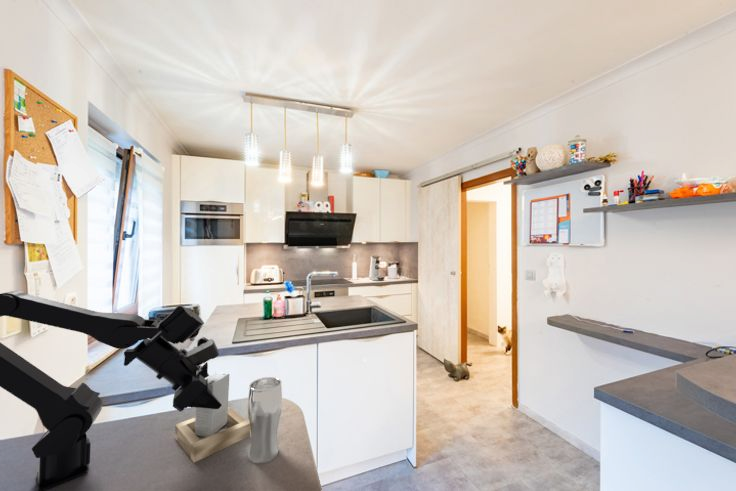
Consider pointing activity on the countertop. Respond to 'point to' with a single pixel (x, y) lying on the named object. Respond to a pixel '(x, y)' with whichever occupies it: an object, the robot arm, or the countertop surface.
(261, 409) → the beer glass
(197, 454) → the frame
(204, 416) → the skincare box
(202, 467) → the countertop surface
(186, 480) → the countertop surface
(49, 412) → the robot arm
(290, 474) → the countertop surface
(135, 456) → the countertop surface
